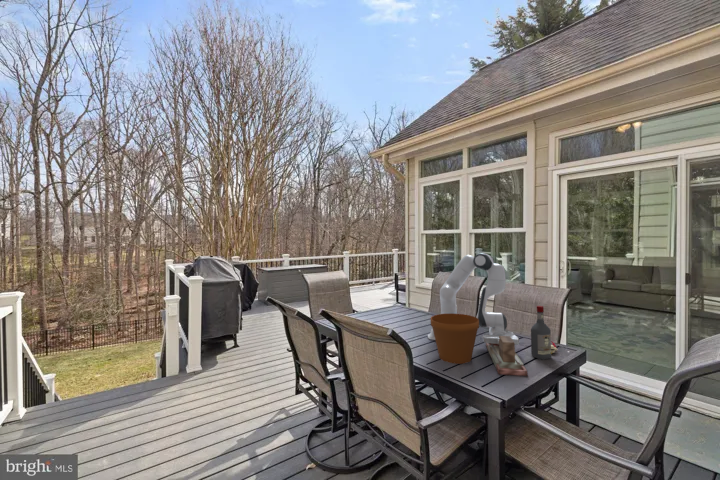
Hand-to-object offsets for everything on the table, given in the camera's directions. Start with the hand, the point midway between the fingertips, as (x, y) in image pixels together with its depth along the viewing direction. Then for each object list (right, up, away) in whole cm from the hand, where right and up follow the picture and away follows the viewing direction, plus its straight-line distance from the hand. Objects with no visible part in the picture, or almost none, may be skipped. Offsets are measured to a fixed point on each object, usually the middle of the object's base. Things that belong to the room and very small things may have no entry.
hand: (502, 343), depth 198 cm
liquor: (+23, -8, +1) cm, 25 cm away
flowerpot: (-28, -9, +2) cm, 29 cm away
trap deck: (0, -8, -2) cm, 9 cm away
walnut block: (-1, -6, -9) cm, 11 cm away
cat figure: (+34, -8, +15) cm, 38 cm away
